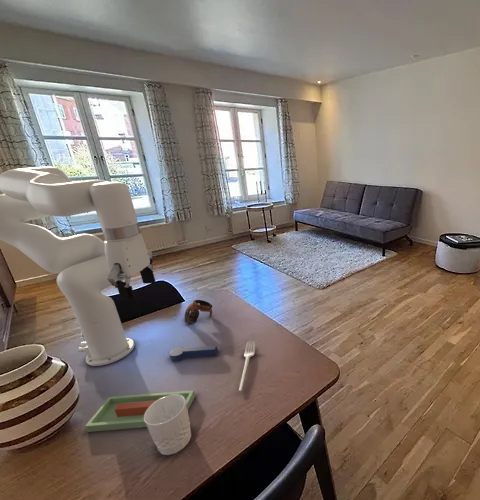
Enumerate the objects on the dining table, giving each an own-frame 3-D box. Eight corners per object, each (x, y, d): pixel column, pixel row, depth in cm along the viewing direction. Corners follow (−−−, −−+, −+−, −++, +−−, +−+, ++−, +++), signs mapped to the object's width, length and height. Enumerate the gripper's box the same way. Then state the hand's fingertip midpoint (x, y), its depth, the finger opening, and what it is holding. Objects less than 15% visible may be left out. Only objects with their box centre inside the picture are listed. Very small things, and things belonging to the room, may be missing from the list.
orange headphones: (186, 315, 117) (193, 296, 117) (210, 322, 120) (217, 304, 120) (175, 325, 106) (184, 304, 106) (202, 333, 108) (210, 312, 108)
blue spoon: (219, 349, 97) (218, 343, 96) (214, 358, 93) (213, 352, 92) (174, 352, 96) (173, 346, 95) (168, 361, 92) (166, 355, 91)
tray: (87, 432, 70) (84, 426, 69) (111, 402, 78) (109, 396, 77) (181, 424, 72) (179, 418, 71) (195, 395, 80) (194, 390, 79)
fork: (234, 393, 80) (233, 388, 79) (246, 346, 99) (245, 341, 98) (246, 392, 80) (245, 386, 80) (256, 345, 99) (255, 340, 98)
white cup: (166, 426, 71) (156, 395, 67) (199, 424, 72) (191, 392, 68) (147, 460, 64) (135, 426, 60) (185, 456, 64) (175, 423, 61)
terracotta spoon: (113, 421, 72) (110, 414, 71) (124, 406, 76) (122, 399, 75) (173, 416, 73) (171, 409, 72) (181, 402, 77) (179, 394, 76)
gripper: (128, 223, 83) (143, 277, 89) (80, 243, 67) (103, 308, 73) (155, 222, 83) (169, 276, 89) (115, 242, 67) (134, 306, 73)
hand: (139, 290), depth 81 cm, fingers open, 9 cm apart
